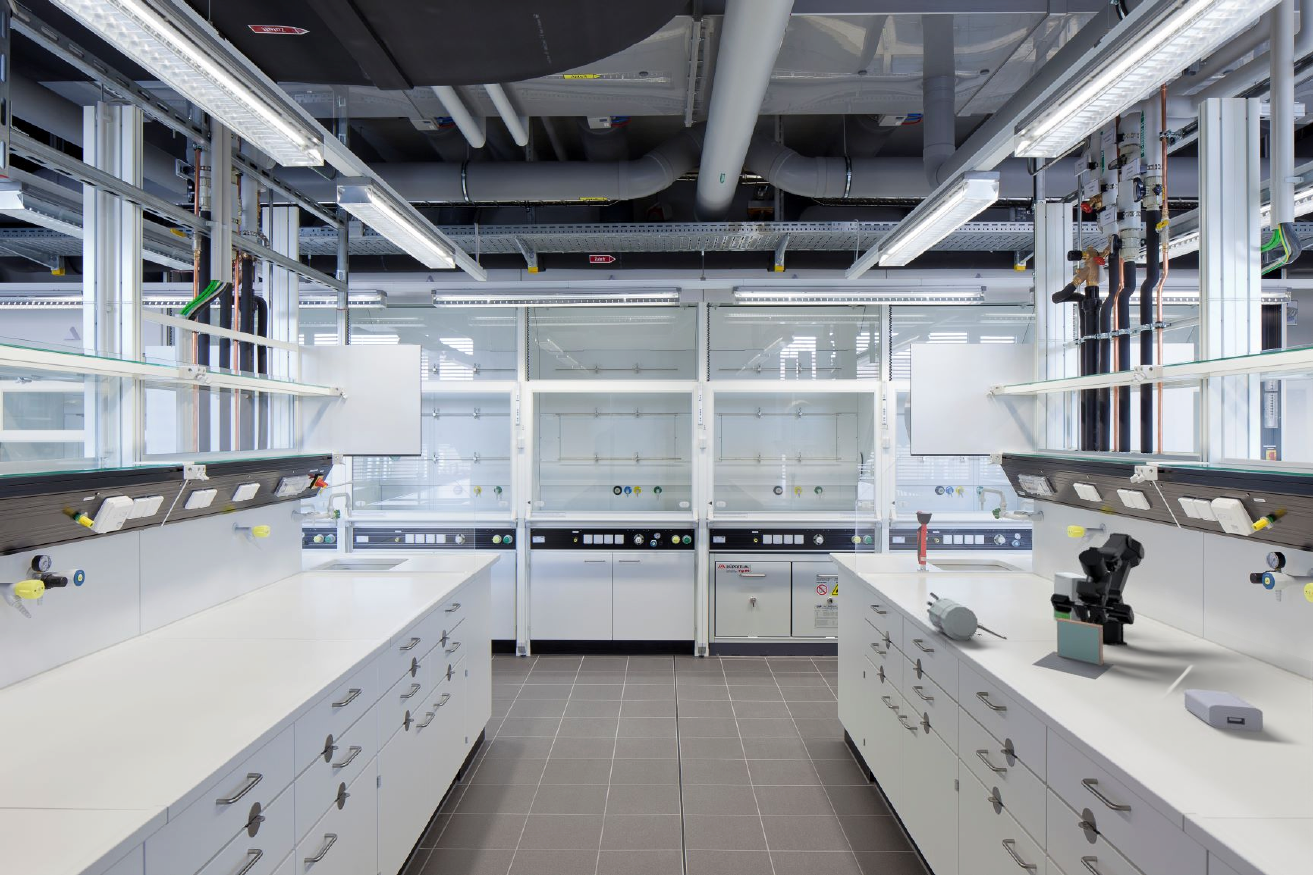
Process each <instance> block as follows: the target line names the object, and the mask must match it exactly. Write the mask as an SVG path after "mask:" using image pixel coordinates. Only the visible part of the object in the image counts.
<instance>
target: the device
mask: <svg viewBox="0 0 1313 875" xmlns="http://www.w3.org/2000/svg"><path fill="white" fill-rule="evenodd" d="M929 595H930V596H931V597H932V598H934V599H935V601H930V600H927V601H926V605H928V606H929V608H928V609H926V613H928V619H929V621H930V623H931V624H932V626H933V627H934V628H936V629H938V630H939V631H940V632H942V633H944V634H945V635H947V636H948V637H951V638H952V639H954V640H955V641H967V640H969V639H971V638H973V636H974V635H975V634H976V633H975V632H977V629H978V628H979V627H978V625H979V624H978V617H977V616H976V614H975V613H974V610H973V611H972V610H971V609H969V608H967V607H966V606H965V605H962V604H961V603H959V602H957V601H955V600H952V599H951V598H946V597H945V598H941V597H940V598H939V596H938V595H936V594H935V593H934V592H929ZM977 624H978V625H977Z"/></svg>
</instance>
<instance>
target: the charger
mask: <svg viewBox="0 0 1313 875" xmlns="http://www.w3.org/2000/svg"><path fill="white" fill-rule="evenodd" d="M1183 695H1184V708H1185V709H1186V710H1187V711H1189V712H1190V713H1192V714H1193V715H1195V716H1196V717H1198V718H1199V719H1200V720H1202V721H1204V722H1205V723H1207V725H1209V726H1211V727H1213V728H1221V729H1222V728H1223V729H1234V730H1245V731H1254V732H1255V731H1259V732H1260V731H1262V730H1263V729H1264V716H1263V714H1264V713H1263V711H1262V710H1261V709H1259V708H1257V707H1256V706H1255V705H1252V704H1251V703H1249V702H1247V701H1245V700H1243V699H1242V698H1240V697H1239V696H1237V695H1235V694H1233V693H1231V692H1229V691H1228V692H1227V691H1220V690H1206V689H1197V688H1196V689H1195V688H1190V689H1186V690H1185V691H1183Z"/></svg>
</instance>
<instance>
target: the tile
mask: <svg viewBox="0 0 1313 875" xmlns="http://www.w3.org/2000/svg"><path fill="white" fill-rule="evenodd" d="M1056 644H1057V645H1056V652H1057V656H1060V657H1065V658H1069V659H1074V660H1078V661H1083V662H1087V663H1092V664H1096V665H1102V664H1103V662H1104V644H1103V626H1102V625H1096V624H1091V623H1085V622H1080V621H1074V620H1069V619H1063V618H1058V619H1057V620H1056Z"/></svg>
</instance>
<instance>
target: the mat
mask: <svg viewBox="0 0 1313 875" xmlns="http://www.w3.org/2000/svg"><path fill="white" fill-rule="evenodd" d="M1114 665H1115V664H1112V663H1109V662H1104V661H1103V664H1102V665H1096V664H1092V663H1087V662H1083V661H1078V660H1074V659H1069V658H1065V657H1060V656H1057V651H1051V652H1050V653H1048V654H1047V655H1045V656H1044V657H1042V658H1040V659H1039V660H1037V661H1035V662H1034V663H1032V666H1037V667H1041V668H1046V669H1050V670H1053V671H1058V672H1062V673H1067V674H1071V675H1074V676H1078V677H1079V676H1080V677H1083V678H1088V679H1091V680H1096V679H1097V678H1099V677H1100V676H1102V675H1103V674H1104V673H1105V672H1107V671H1108V670H1109V669H1110V668H1112V667H1113V666H1114Z"/></svg>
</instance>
